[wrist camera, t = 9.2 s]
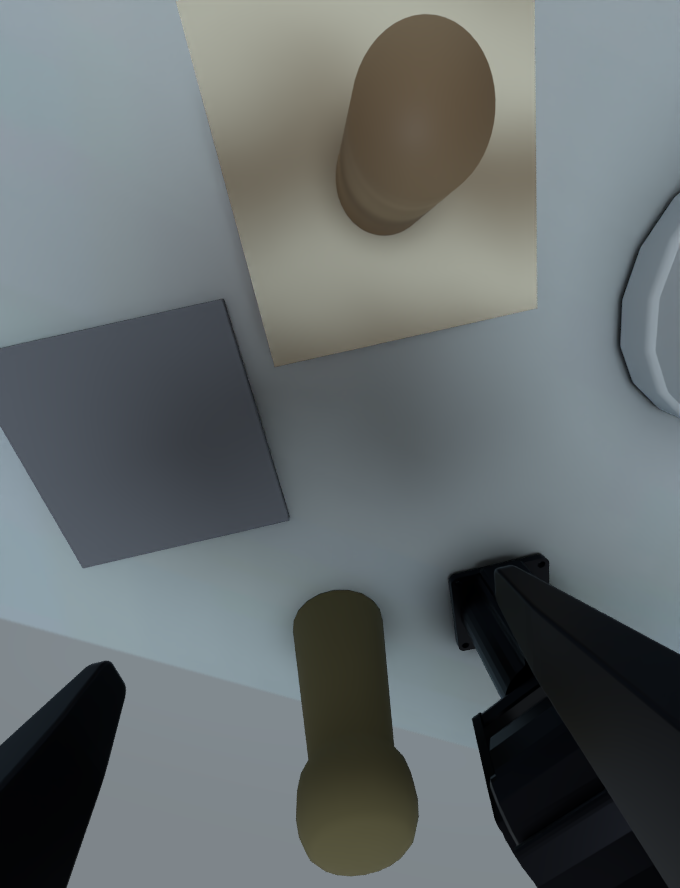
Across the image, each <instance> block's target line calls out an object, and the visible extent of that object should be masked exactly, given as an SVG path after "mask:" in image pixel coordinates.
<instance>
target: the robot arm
mask: <svg viewBox="0 0 680 888" xmlns="http://www.w3.org/2000/svg"><path fill="white" fill-rule="evenodd" d="M539 562H540V563H539ZM457 581H459V582H457ZM456 582H457V583H456ZM449 588H450V596H451V604H452V611H453V619H454V627H455V635H456V642H457V645H458V647H459V649H460V650H462V651H466V650H470V649H475V648H476V650H477V652H478V654H479V656H480V658H481V660H482V662H483V664H484V666H485V668H486V670H487V672H488V674H489V676H490V678H491V680H492V681H493V683H494V685H495V687H496V689H497V691H498V693H499V695H500V697H501V699H500V700H499V701H498V702H497V703H495V704H494V705H493V706H491V707H490V708H489V709H487V710H486V711H485V712H483V713H478V714H477V715H476V716H474V717H473V718H472V721H473V726H474V730H475V735H476V740H477V744H478V748H479V753H480V757H481V761H482V766H483V770H484V774H485V779H486V784H487V788H488V793H489V797H490V801H491V805H492V810H493V814H494V818H495V821H496V823H497V825H498V827H499V829H500V830H501V831H502V833H503V835H504V838H505V840H506V841H507V843H508V844H509V846H510V848H511V850H512V852H513V853H514V855H515V857H516V858H517V860H518V861H519V863H520V864H521V866H522V868H523V869H524V870H525V871H526V872H527V874H528V875H529V877H530V878H531V879H532V880H533V882H534V883H535V885H536V886H537V888H680V654H678V653H677V652H675V651H673V650H671V649H669V648H667V647H665V646H663V645H662V644H660V643H658V642H656V641H654V640H652V639H650V638H649V637H647V636H645V635H643V634H641V633H639V632H637V631H635V630H634V629H632V628H630V627H628V626H626V625H624V624H622V623H621V622H619V621H617V620H615V619H613V618H611V617H609V616H608V615H606V614H604V613H602V612H600V611H598V610H596V609H594V608H593V607H591V606H589V605H587V604H585V603H583V602H581V601H580V600H578V599H576V598H574V597H572V596H570V595H568V594H567V593H565V592H563V591H561V590H559V589H557V588H555V587H553V586H552V585H550V584H549V561H548V560H547V559H546V558H545V557H544V556H543V555H541V554H537V555H533V556H529V557H525V558H520V559H516V560H512V561H508V562H503V563H499V564H495V565H491V566H486V567H482V568H478V569H474V570H469V571H465V572H461V573H457V574H454V575H452V576H451V577H450V578H449ZM125 694H126V687H125V683H124V681H123V680H122V678H121V677H120V675H119V673H118V672H117V670H116V668H115V667H114V665H113V664H112V663H111V662H110V661H102V662H98V663H94V664H91V665H89V666H87V667H86V668H85V669H84V670H82V671H81V672H80V673H79V674H78V675H77V676H76V677H75V678H74V679H73V680H72V681H71V682H69V683H68V684H67V685H66V686H65V687H64V688H63V689H62V690H61V691H59V692H58V693H57V694H56V695H55V696H54V697H53V698H52V699H51V700H50V701H48V702H47V703H46V704H45V705H44V706H43V707H42V708H41V709H40V710H39V711H37V712H36V713H35V714H34V715H33V716H32V717H31V718H30V719H29V720H28V721H26V722H25V723H24V724H23V725H22V726H21V727H20V728H19V729H18V730H17V731H16V732H15V733H13V734H12V735H11V736H10V737H9V738H8V739H7V740H6V741H5V742H3V744H1V745H0V888H67V885H68V882H69V879H70V876H71V873H72V870H73V867H74V864H75V861H76V858H77V855H78V853H79V850H80V847H81V844H82V841H83V838H84V835H85V832H86V829H87V826H88V824H89V821H90V818H91V815H92V812H93V809H94V806H95V803H96V800H97V797H98V794H99V791H100V788H101V785H102V782H103V779H104V776H105V772H106V769H107V765H108V761H109V757H110V754H111V750H112V746H113V742H114V738H115V734H116V730H117V726H118V723H119V719H120V714H121V711H122V707H123V703H124V699H125Z"/></svg>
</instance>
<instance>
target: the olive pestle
mask: <svg viewBox="0 0 680 888" xmlns="http://www.w3.org/2000/svg"><path fill="white" fill-rule="evenodd" d="M293 635H294V643H295V651H296V660H297V668H298V676H299V685H300V693H301V702H302V710H303V718H304V726H305V735H306V743H307V751H308V762H307V763H306V765H305V767H304V769H303V771H302V772H301V776H300V780H299V785H298V790H297V808H296V822H297V828H298V834H299V838H300V840H301V843H302V845H303V847H304V849H305V851H306V853H307V855H308V857H309V859H310V861H312V862H313V863H314V864H316V865H317V866H318V867H320V868H321V869H323V870H324V871H326V872H329V873H332V874H335V875H342V876H358V875H366V874H369V873H373V872H377V871H380V870H382V869H384V868H386V867H389V866H391V865H392V864H394V863H395V862H396V861H398V860H399V859H400V858H401V857H402V856H403V855H404V854H405V852H406V851H407V850H408V849H409V847H410V846H411V845H412V843H413V840H414V836H415V831H416V827H417V822H418V817H419V816H418V798H417V794H416V790H415V786H414V782H413V778H412V775H411V772H410V769H409V767H408V765H407V763H406V761H405V758H404V757H403V755H401V754H400V752H399V751H398V750H397V749H396V748H395V747H394V740H393V729H392V718H391V707H390V696H389V685H388V675H387V664H386V653H385V642H384V631H383V620H382V616H381V612H380V609H379V608H378V607H377V605H376V604H375V603H374V601H373V600H371V599H370V598H368V597H367V596H365V595H363V594H361V593H357V592H354V591H350V590H333V591H330V592H326V593H322V594H319V595H317V596H316V597H314V598H312V599H310V600H309V601H307V602H306V603H305V604H304V605H303V606H302V607H301V608H300V609H299V611H298V613H297V615H296V617H295V619H294V624H293Z"/></svg>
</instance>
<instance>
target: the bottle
mask: <svg viewBox="0 0 680 888" xmlns="http://www.w3.org/2000/svg"><path fill="white" fill-rule="evenodd" d="M620 347H621V350H622V353H623V355H624V358H625V361H626V364H627V367H628V370H629V373H630V376H631V379H632V382H633V383H634V384H635V385H636V386H637V387H638V388H639V389H640V390H641V391H642V392H643V393H644V394H645V395H646V396H647V397H648V398H649V399H650V400H651V401H652V402H653V403H654V404H655V405H656V406H657V407H658V408H659V409H661V410H663V411H665V412H667V413H670V414H672V415H674V416H676V417H678V418H680V193H679V194H678V195H677V196H675V197H674V198H673V200H672V201H671V203H670V204H669V206H668V207H667V209H666V210H665V212H664V213H663V215H662V216H661V218H660V219H659V221H658V222H657V224H656V225H655V227H654V228H653V230H652V231H651V233H650V234H649V236H648V237H647V239H646V240H645V242H644V243H643V245H642V246H641V248H640V250H639V253H638V256H637V259H636V262H635V265H634V268H633V270H632V273H631V276H630V279H629V282H628V285H627V288H626V291H625V294H624V297H623V300H622V319H621V342H620Z"/></svg>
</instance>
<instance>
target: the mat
mask: <svg viewBox="0 0 680 888" xmlns="http://www.w3.org/2000/svg"><path fill="white" fill-rule="evenodd" d="M0 426H1V428H2V430H3V431H4V433H5V435H6V437H7V438H8V440H9V442H10V444H11V445H12V447H13V449H14V450H15V452H16V454H17V456H18V457H19V459H20V461H21V463H22V464H23V466H24V468H25V469H26V471H27V473H28V475H29V476H30V478H31V480H32V482H33V483H34V485H35V487H36V488H37V490H38V492H39V494H40V495H41V497H42V499H43V500H44V502H45V504H46V506H47V507H48V509H49V511H50V513H51V514H52V516H53V518H54V519H55V521H56V523H57V525H58V526H59V528H60V530H61V532H62V533H63V535H64V537H65V538H66V540H67V542H68V544H69V545H70V547H71V549H72V551H73V552H74V554H75V556H76V557H77V559H78V561H79V563H80V564H81V566H82V568H86V567H91V566H95V565H99V564H104V563H108V562H112V561H117V560H121V559H125V558H130V557H134V556H138V555H143V554H147V553H151V552H155V551H160V550H164V549H168V548H173V547H177V546H181V545H186V544H190V543H194V542H199V541H203V540H207V539H211V538H216V537H220V536H224V535H229V534H233V533H237V532H242V531H246V530H250V529H255V528H259V527H263V526H268V525H272V524H276V523H280V522H285V521H289V513H288V510H287V507H286V503H285V500H284V497H283V494H282V490H281V487H280V484H279V480H278V477H277V474H276V470H275V467H274V464H273V460H272V457H271V454H270V451H269V447H268V444H267V441H266V437H265V434H264V431H263V427H262V424H261V421H260V418H259V414H258V411H257V408H256V404H255V401H254V398H253V394H252V391H251V388H250V384H249V381H248V378H247V375H246V371H245V368H244V365H243V361H242V358H241V355H240V351H239V348H238V345H237V342H236V338H235V335H234V332H233V328H232V325H231V322H230V318H229V315H228V312H227V308H226V305H225V302H224V299H219V300H215V301H210V302H206V303H201V304H197V305H192V306H188V307H183V308H179V309H174V310H170V311H166V312H161V313H157V314H152V315H148V316H143V317H139V318H134V319H130V320H125V321H121V322H116V323H112V324H107V325H103V326H98V327H94V328H89V329H85V330H80V331H76V332H71V333H67V334H62V335H58V336H53V337H49V338H44V339H40V340H36V341H31V342H27V343H22V344H18V345H13V346H9V347H4V348H0Z"/></svg>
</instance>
